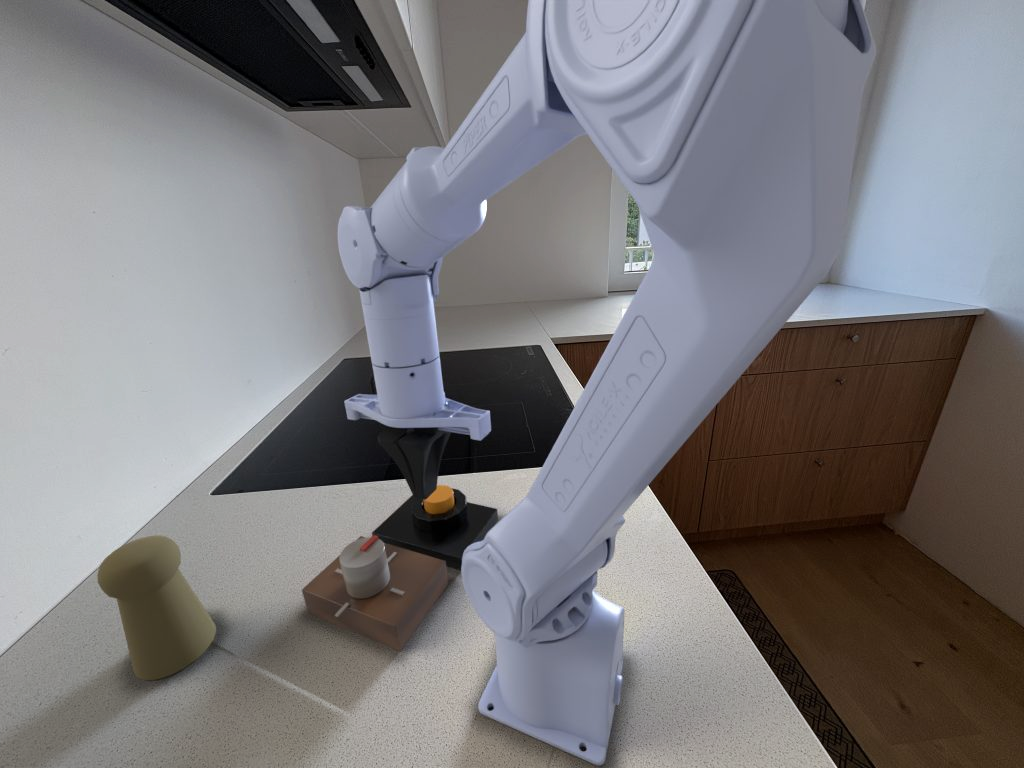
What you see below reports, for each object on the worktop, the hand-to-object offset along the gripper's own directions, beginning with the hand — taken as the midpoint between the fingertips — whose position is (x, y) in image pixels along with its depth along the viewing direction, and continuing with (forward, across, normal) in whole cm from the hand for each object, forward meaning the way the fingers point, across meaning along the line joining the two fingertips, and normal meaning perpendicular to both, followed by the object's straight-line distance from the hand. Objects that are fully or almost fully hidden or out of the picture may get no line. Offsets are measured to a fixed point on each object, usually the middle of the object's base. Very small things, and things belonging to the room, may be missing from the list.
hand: (425, 492), depth 41 cm
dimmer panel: (+10, +4, +4) cm, 12 cm away
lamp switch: (+10, +4, -6) cm, 13 cm away
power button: (+7, +4, -7) cm, 11 cm away
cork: (+10, +18, +16) cm, 26 cm away
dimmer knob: (+7, +4, +6) cm, 10 cm away
